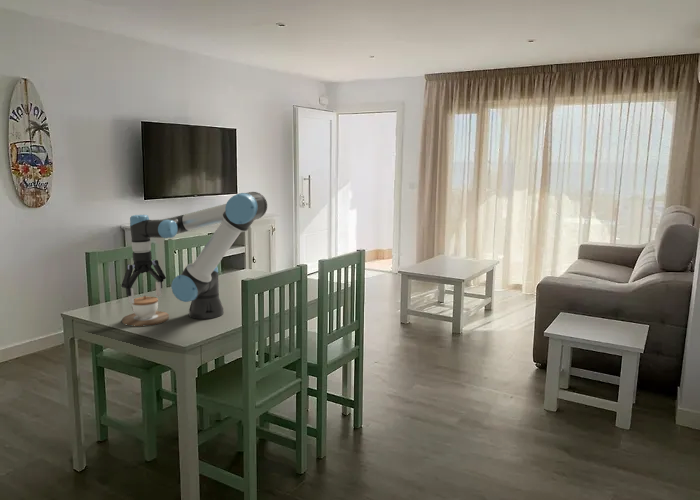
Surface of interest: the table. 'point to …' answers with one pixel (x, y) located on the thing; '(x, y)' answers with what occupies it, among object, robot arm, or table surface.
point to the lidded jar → (145, 307)
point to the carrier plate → (156, 319)
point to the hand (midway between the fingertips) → (145, 299)
